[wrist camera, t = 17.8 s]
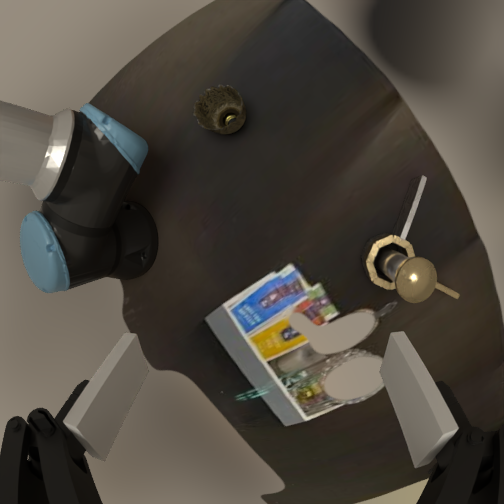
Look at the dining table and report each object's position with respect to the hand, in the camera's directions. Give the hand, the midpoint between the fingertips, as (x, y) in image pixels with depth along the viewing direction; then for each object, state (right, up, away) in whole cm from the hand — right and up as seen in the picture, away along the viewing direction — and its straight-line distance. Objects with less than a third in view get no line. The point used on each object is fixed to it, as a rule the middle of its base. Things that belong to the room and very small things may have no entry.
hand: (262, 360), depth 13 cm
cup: (-4, +27, +30) cm, 41 cm away
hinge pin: (+20, +4, +27) cm, 34 cm away
